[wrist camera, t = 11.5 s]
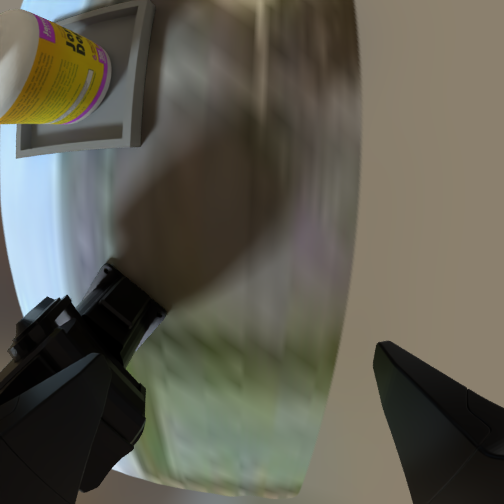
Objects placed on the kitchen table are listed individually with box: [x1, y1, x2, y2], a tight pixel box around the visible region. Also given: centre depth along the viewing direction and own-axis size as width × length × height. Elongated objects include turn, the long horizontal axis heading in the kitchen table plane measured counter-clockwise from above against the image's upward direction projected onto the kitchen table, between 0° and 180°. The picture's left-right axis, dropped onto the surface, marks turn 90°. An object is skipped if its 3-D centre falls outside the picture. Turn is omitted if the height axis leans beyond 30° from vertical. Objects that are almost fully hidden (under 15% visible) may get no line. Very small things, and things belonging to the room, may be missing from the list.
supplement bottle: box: [0, 9, 112, 124], centre depth 11 cm, size 7×7×13 cm
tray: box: [16, 0, 156, 159], centre depth 16 cm, size 11×11×2 cm
